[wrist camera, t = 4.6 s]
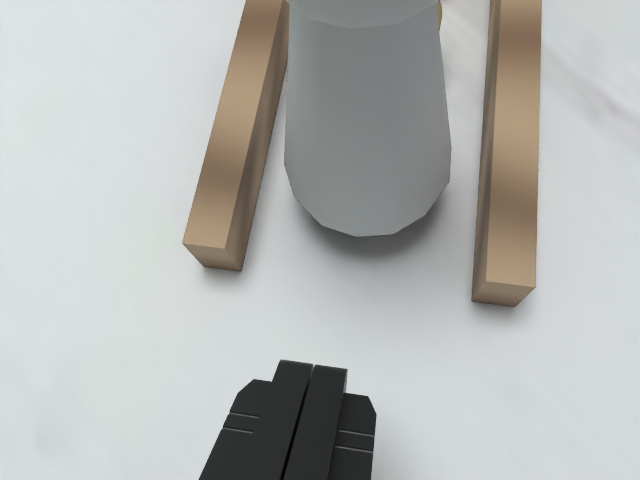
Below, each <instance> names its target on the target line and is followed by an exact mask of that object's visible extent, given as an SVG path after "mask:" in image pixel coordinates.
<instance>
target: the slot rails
mask: <svg viewBox="0 0 640 480" xmlns="http://www.w3.org/2000/svg"><path fill="white" fill-rule="evenodd" d="M541 10H542V0H491V1H490V17H489V32H488V48H487V64H486V80H485V96H484V112H483V127H482V143H481V159H480V175H479V191H478V207H477V222H476V238H475V254H474V270H473V286H472V301H475V302H483V303H490V304H498V305H506V306H513V307H515V306H516V305H517V304H518V303H520V302H521V301H522V300H523V299H524V298H525V297H526V296H527V295H528V294H529V293H530V292H531V291H532V290H533V289H534V288H535V287H536V243H537V197H538V150H539V103H540V56H541ZM289 17H290V4H289V3H288V2H287V1H286V0H246V2H245V6H244V10H243V14H242V17H241V21H240V25H239V29H238V33H237V36H236V40H235V44H234V48H233V52H232V55H231V59H230V63H229V67H228V71H227V74H226V78H225V82H224V86H223V90H222V93H221V97H220V101H219V105H218V109H217V112H216V116H215V120H214V124H213V128H212V131H211V135H210V139H209V143H208V147H207V151H206V154H205V158H204V162H203V166H202V170H201V173H200V177H199V181H198V185H197V189H196V192H195V196H194V200H193V204H192V208H191V211H190V215H189V219H188V223H187V227H186V230H185V234H184V238H183V242H182V244H183V245H184V246H185V247H186V248H187V249H188V250H189V251H190V252H191V253H192V255H193V256H194V257H195V258H196V259H197V260H198V261H199V262H200V263H201V264H202V265H203V266H205V267H213V268H221V269H228V270H236V271H241V270H242V266H243V261H244V257H245V252H246V247H247V243H248V238H249V234H250V229H251V225H252V220H253V215H254V211H255V206H256V202H257V197H258V192H259V188H260V183H261V179H262V174H263V170H264V165H265V160H266V156H267V151H268V147H269V142H270V138H271V133H272V128H273V124H274V119H275V115H276V110H277V106H278V101H279V96H280V92H281V87H282V83H283V78H284V73H285V69H286V64H287V60H288V44H289Z"/></svg>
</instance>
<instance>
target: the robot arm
mask: <svg viewBox="0 0 640 480" xmlns="http://www.w3.org/2000/svg"><path fill="white" fill-rule="evenodd" d="M346 383H347V369H343V368H336V367H329V366H322V365H315V366H314V367H313V364H309V363H302V362H295V361H288V360H280V362H279V364H278V367H277V370H276V372H275V375H274V378H273V380H272V382H270V381H263V380H256V379H253V380H252V381H251V382H250V383H249V384H248V385H247V386H245V387H244V388H243V389H242V390H241V391H240V392H239V393H238V394H237V396H236V398H235V400H234V403H233V405H232V407H231V409H230V413H229V415H228V416H227V418H226V420H225V423H224V425H223V429H222V430H221V431H220V434H219V436H218V438H217V440H216V442H215V445H214V447H213V449H212V451H211V454H210V456H209V458H208V460H207V462H206V465H205V467H204V469H203V471H202V473H201V476H200V478H199V480H371V471H372V460H373V449H374V436H375V426H376V412H375V410H374V408H373V406H372V404H371V401H370V399H369V397H368V396H363V395H356V394H349V393H346Z"/></svg>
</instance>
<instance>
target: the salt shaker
mask: <svg viewBox="0 0 640 480" xmlns="http://www.w3.org/2000/svg"><path fill="white" fill-rule="evenodd" d="M286 1H287V2H288V3H289V4H290V17H289V44H288V71H287V99H286V126H285V153H284V166H285V169H286V172H287V175H288V178H289V182H290V185H291V188H292V191H293V194H294V196H295V198H296V199H297V201H298V202H299V203H300V204H301V205H302V206H303V207H304V208H305V209H306V210H307V211H308V212H309V213H310V214H311V215H312V216H313V217H314V218H315V219H316V220H317V221H318V222H319V223H320V224H321V225H322V226H325V227H328V228H331V229H334V230H337V231H340V232H343V233H346V234H349V235H352V236H355V237H359V236H374V235H389V234H395V233H396V232H398V231H400V230H401V229H403V228H405V227H406V226H408V225H410V224H412V223H413V222H415V221H417V220H418V219H420V218H422V217H423V216H425V215H426V213H427V212H428V211H429V209H430V208H431V207H432V205H433V204H434V202H435V201H436V200H437V198H438V197H439V195H440V194H441V193H442V191H443V190H444V188H445V187H446V186H447V184H448V183H449V177H450V162H451V140H450V130H449V121H448V111H447V102H446V93H445V83H444V74H443V65H442V55H441V46H440V36H439V27H438V13H437V2H438V1H439V0H286Z"/></svg>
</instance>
